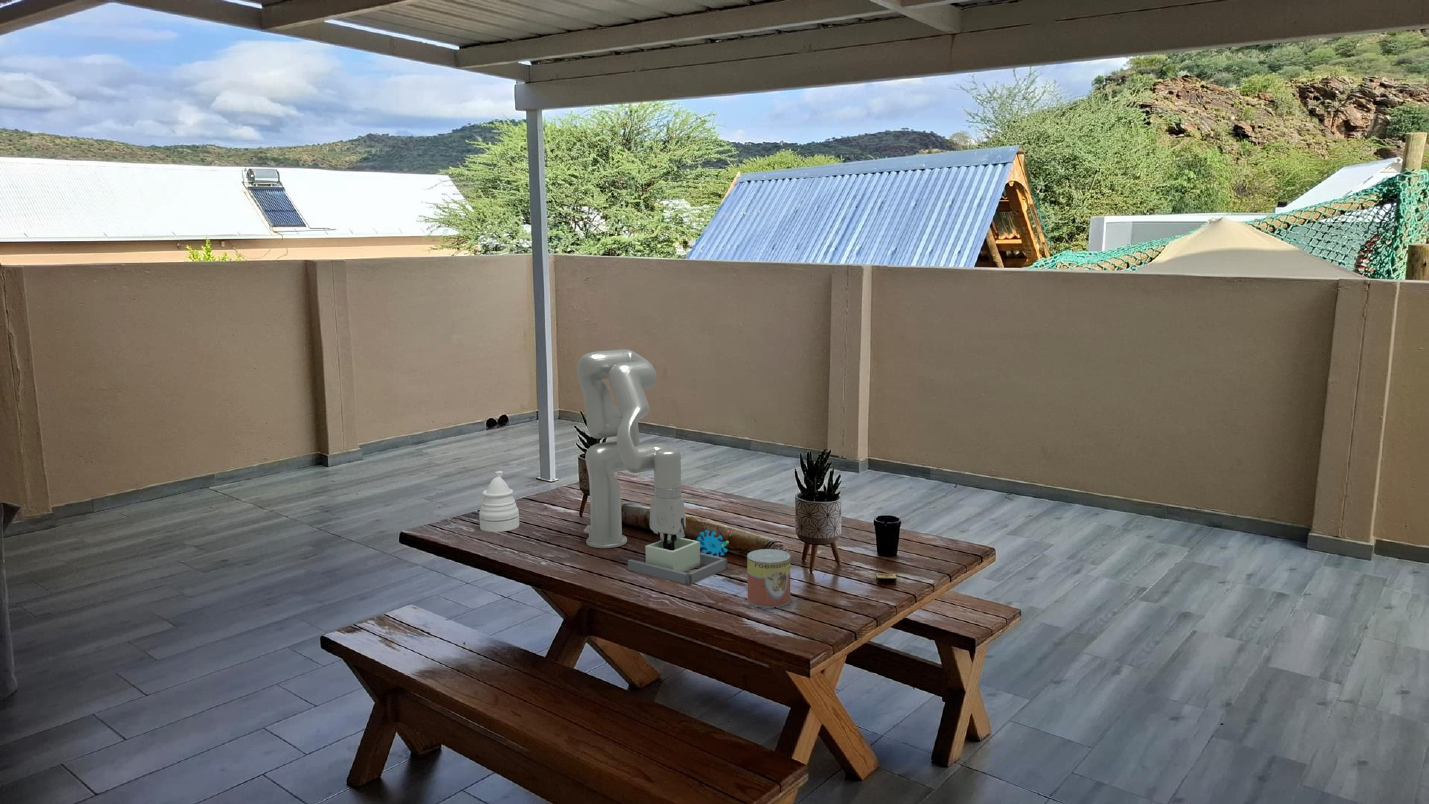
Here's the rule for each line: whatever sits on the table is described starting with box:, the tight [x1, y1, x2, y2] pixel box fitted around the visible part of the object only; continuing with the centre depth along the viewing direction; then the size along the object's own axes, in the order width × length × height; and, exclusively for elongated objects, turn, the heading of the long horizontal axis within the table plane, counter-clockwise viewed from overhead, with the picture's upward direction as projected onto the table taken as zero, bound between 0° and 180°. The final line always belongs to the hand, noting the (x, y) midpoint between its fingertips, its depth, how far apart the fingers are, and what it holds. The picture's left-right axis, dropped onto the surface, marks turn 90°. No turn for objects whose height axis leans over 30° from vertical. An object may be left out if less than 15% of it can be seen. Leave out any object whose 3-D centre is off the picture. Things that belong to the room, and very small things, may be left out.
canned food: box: [746, 548, 792, 609], centre depth 254 cm, size 11×11×12 cm
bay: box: [627, 552, 729, 586], centre depth 276 cm, size 22×17×4 cm
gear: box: [696, 529, 730, 557], centre depth 291 cm, size 11×6×10 cm
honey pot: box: [478, 470, 520, 533], centre depth 323 cm, size 13×13×18 cm
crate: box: [645, 537, 701, 573], centre depth 277 cm, size 10×12×7 cm
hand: (668, 555), depth 278 cm, fingers closed
